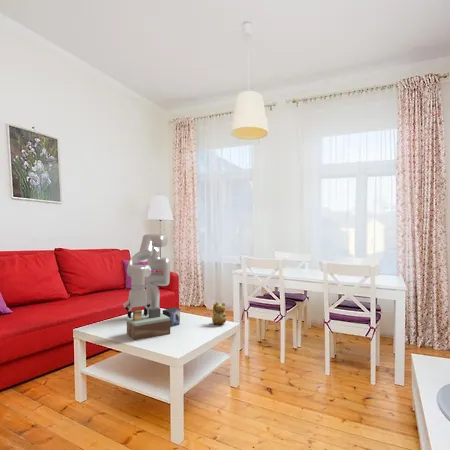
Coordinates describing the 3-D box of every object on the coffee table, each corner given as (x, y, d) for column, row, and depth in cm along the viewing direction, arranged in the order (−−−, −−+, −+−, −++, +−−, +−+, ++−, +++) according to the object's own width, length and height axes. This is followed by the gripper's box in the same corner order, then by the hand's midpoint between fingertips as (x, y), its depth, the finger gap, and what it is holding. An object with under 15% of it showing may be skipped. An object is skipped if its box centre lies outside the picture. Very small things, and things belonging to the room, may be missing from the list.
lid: (126, 320, 194) (126, 309, 194) (160, 315, 207) (160, 304, 207) (135, 326, 183) (135, 314, 183) (170, 320, 196) (170, 309, 196)
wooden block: (132, 319, 191) (133, 309, 191) (139, 318, 193) (139, 308, 193) (134, 321, 188) (134, 310, 188) (141, 320, 190) (141, 309, 190)
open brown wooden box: (126, 333, 194) (126, 320, 194) (160, 327, 206) (161, 315, 206) (134, 340, 182) (134, 326, 182) (170, 333, 195) (170, 320, 195)
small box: (168, 328, 206) (168, 311, 206) (161, 326, 210) (161, 310, 210) (180, 324, 215) (180, 308, 215) (173, 322, 219) (173, 307, 219)
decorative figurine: (226, 322, 219) (227, 300, 220) (225, 326, 211) (225, 303, 211) (212, 322, 221) (213, 300, 221) (210, 325, 212) (211, 303, 213)
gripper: (149, 285, 199) (149, 313, 198) (121, 287, 189) (120, 317, 188) (154, 287, 192) (153, 316, 192) (125, 289, 183) (124, 320, 182)
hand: (137, 316), depth 190 cm, fingers open, 9 cm apart
